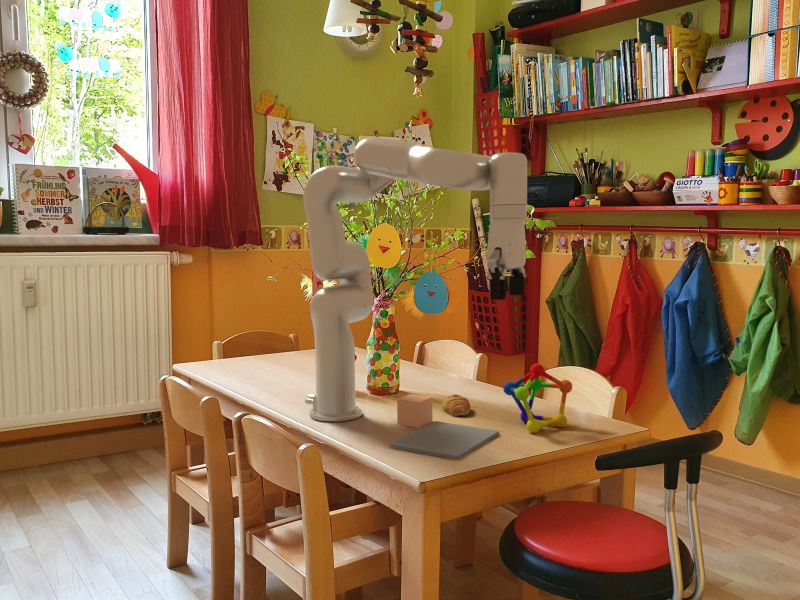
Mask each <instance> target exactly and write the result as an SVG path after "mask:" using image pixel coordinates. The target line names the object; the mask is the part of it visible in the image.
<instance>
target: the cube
mask: <svg viewBox="0 0 800 600" xmlns="http://www.w3.org/2000/svg"><path fill="white" fill-rule="evenodd" d="M396 405H397V407H396V408H397V409H396V413H397V414H396V415H397V418H396V419H397V421H396V423H397V425H402V426H408V427H413V428H419V429H421V428H423V427H425V426H427V425H429V424H431V423H433V396H430V395H429V396H427V395H419V394H413V393H409V394H407V395H405V396H401V397H398V398H397V399H396Z"/></svg>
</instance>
